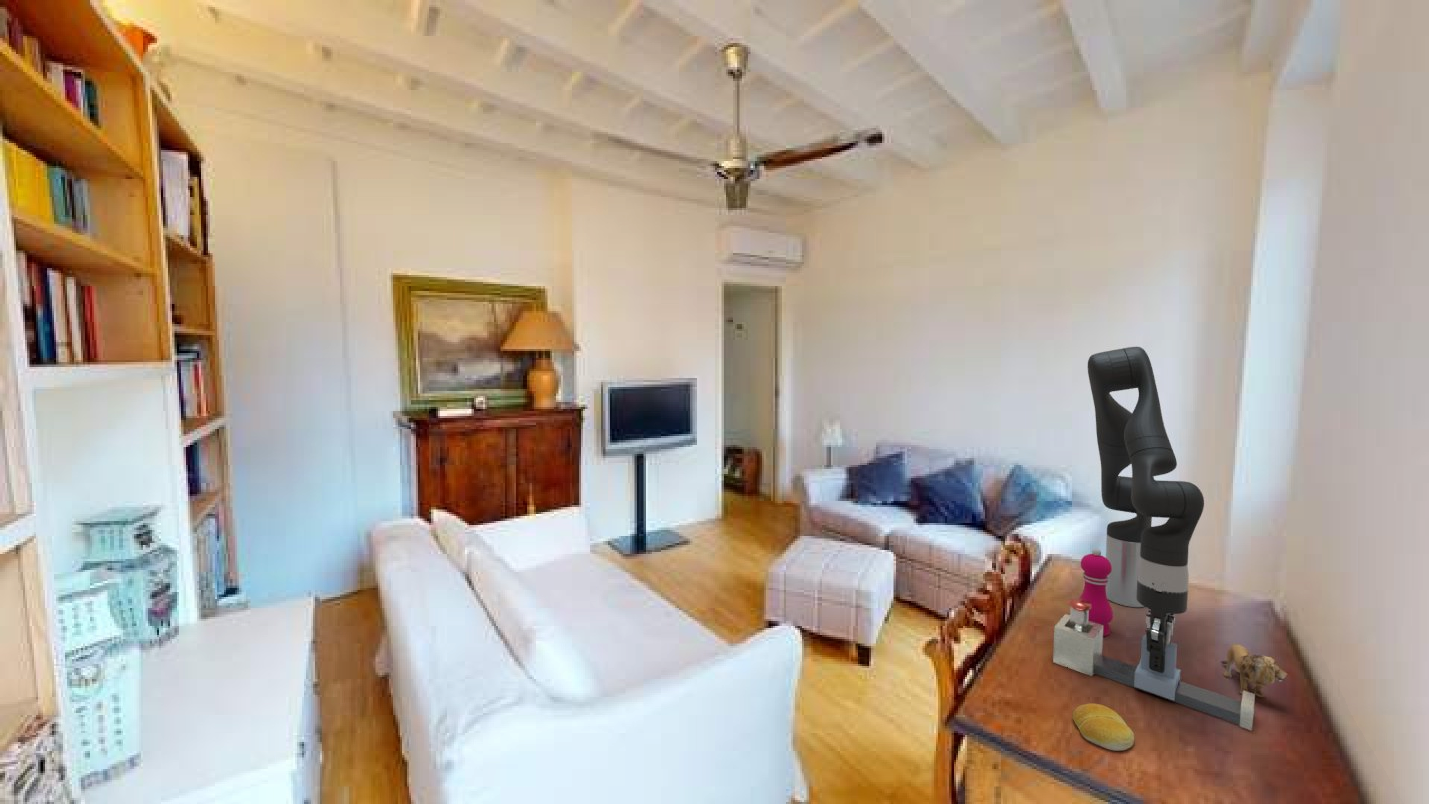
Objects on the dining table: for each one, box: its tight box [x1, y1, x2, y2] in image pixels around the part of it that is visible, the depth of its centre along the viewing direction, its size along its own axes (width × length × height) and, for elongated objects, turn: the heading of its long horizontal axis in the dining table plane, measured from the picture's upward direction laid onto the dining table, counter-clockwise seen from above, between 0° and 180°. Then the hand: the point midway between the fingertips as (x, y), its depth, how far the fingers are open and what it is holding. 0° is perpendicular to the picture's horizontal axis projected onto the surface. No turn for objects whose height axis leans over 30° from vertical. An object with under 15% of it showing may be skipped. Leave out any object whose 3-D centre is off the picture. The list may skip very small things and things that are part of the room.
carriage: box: [1133, 634, 1182, 702], centre depth 104 cm, size 7×6×9 cm
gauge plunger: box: [1068, 597, 1091, 632], centre depth 113 cm, size 4×4×6 cm
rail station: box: [1052, 613, 1256, 732], centre depth 105 cm, size 8×30×8 cm, turn 42°
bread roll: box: [1072, 703, 1135, 752], centre depth 92 cm, size 8×9×4 cm
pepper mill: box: [1079, 548, 1114, 637], centre depth 126 cm, size 7×7×20 cm
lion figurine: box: [1220, 644, 1288, 698], centre depth 104 cm, size 15×5×9 cm, turn 164°
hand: (1157, 667), depth 104 cm, fingers closed on carriage, 2 cm apart
